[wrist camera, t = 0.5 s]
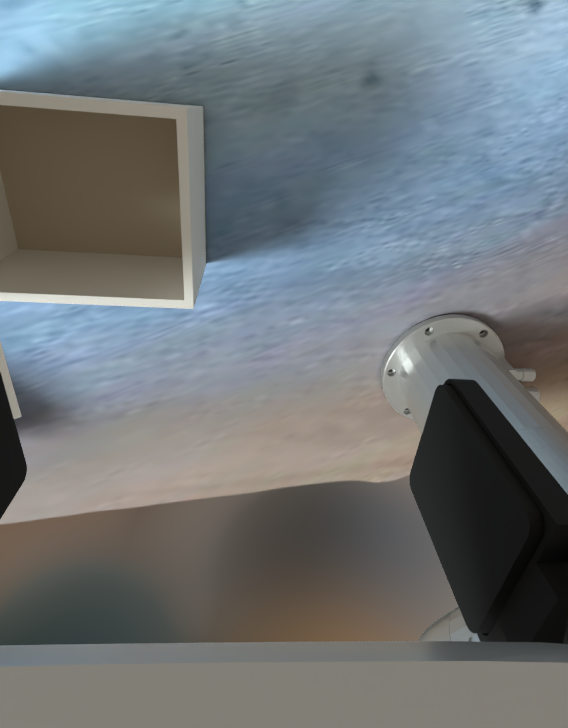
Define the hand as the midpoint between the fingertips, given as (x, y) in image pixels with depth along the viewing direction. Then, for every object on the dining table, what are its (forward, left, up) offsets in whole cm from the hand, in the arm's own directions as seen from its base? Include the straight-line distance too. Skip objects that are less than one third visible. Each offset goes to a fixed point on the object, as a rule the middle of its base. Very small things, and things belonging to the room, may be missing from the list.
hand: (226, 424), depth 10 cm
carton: (+11, 0, -31) cm, 33 cm away
